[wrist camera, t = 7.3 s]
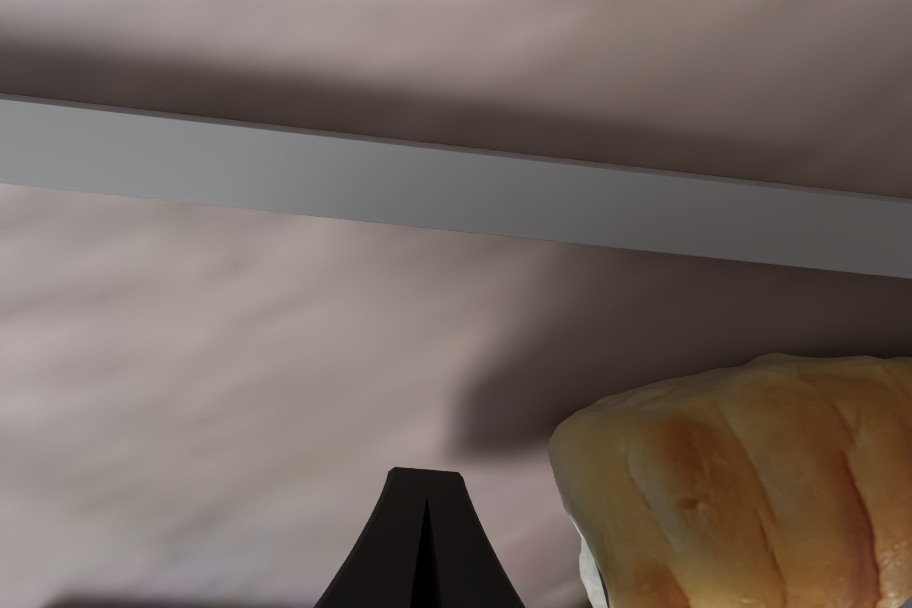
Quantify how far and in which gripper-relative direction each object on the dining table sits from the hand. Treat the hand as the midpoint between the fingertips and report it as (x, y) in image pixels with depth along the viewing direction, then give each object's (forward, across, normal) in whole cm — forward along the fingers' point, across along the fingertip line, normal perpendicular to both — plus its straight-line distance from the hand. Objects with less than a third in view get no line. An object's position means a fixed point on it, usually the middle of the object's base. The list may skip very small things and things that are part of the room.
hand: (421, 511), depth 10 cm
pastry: (+2, -7, 0) cm, 7 cm away
